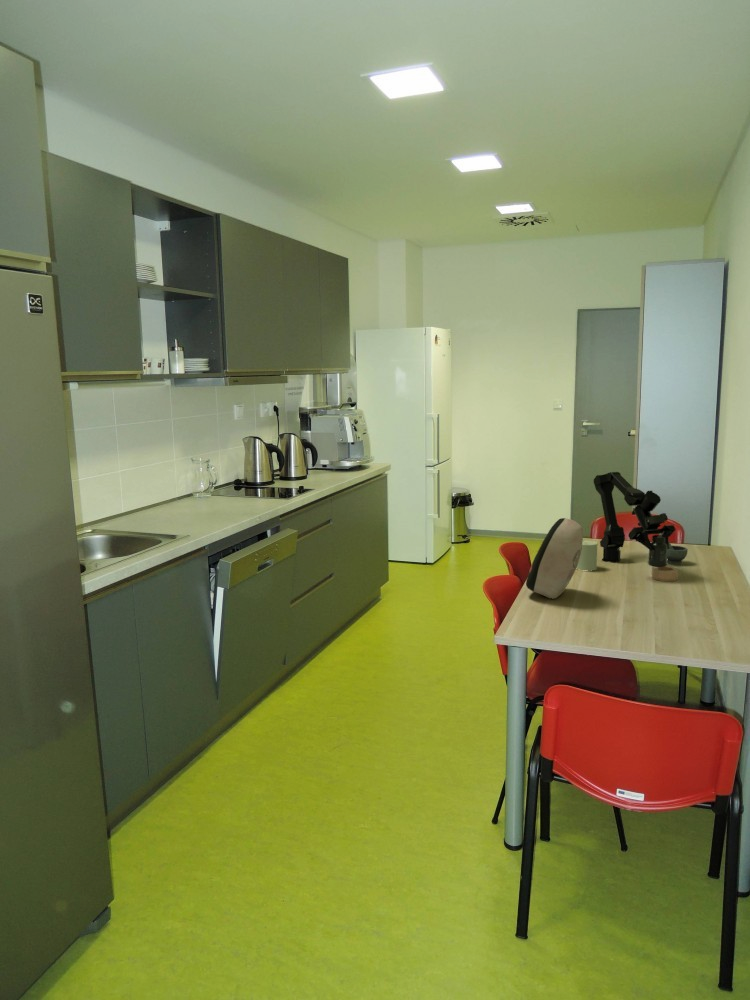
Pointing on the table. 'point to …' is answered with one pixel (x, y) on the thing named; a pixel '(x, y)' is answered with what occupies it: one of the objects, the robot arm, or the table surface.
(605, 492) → the robot arm
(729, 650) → the table surface
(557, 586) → the grey rounded piece
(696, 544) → the table surface
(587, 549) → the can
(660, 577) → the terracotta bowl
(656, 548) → the supplement bottle
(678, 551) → the mortar and pestle
